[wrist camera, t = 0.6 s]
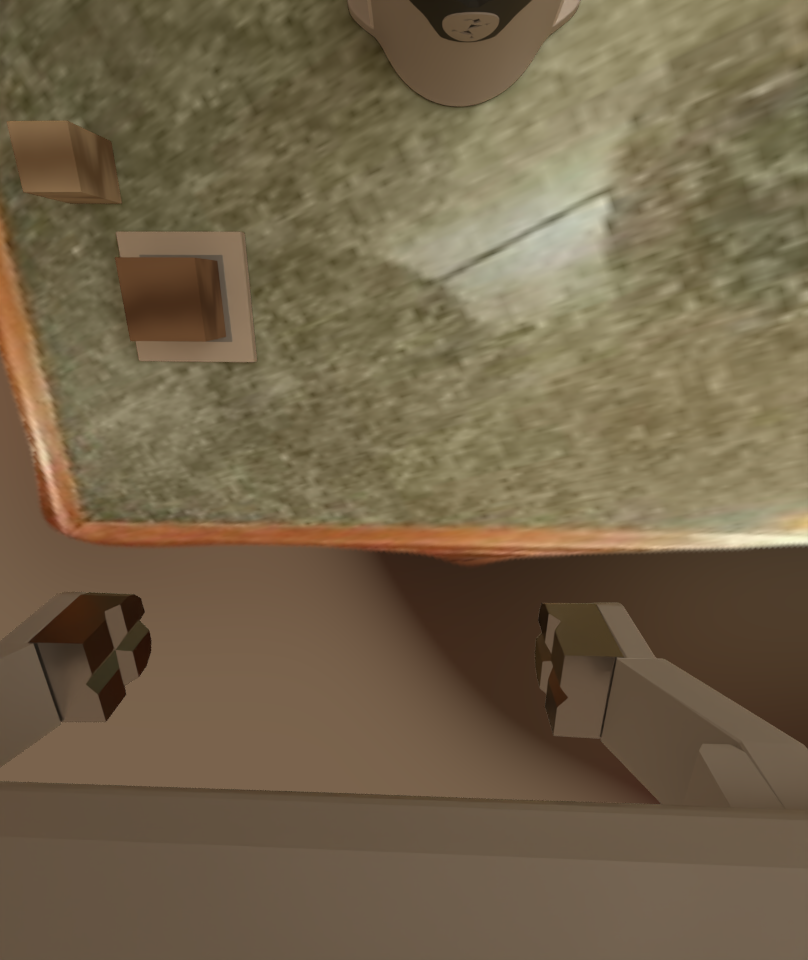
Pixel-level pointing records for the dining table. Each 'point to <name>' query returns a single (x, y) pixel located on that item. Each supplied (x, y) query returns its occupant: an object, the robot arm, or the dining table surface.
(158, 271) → the walnut block
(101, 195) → the maple block
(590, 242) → the dining table surface
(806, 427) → the dining table surface
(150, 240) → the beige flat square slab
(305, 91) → the dining table surface
